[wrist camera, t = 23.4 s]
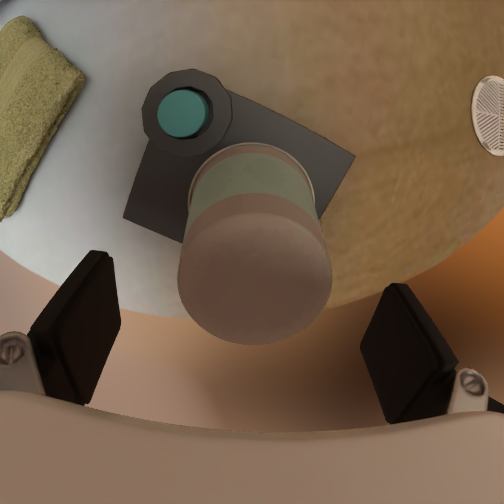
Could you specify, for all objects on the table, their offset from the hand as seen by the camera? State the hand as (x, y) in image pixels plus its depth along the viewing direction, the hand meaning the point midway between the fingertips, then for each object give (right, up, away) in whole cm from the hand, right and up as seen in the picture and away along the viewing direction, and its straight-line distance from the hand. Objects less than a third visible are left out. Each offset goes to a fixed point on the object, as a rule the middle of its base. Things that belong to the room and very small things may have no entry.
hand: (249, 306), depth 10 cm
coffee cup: (0, 0, +1) cm, 1 cm away
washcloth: (-23, +14, +10) cm, 28 cm away
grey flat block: (-1, +8, +13) cm, 15 cm away
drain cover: (+24, +15, +10) cm, 30 cm away
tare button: (-4, +11, +8) cm, 14 cm away
